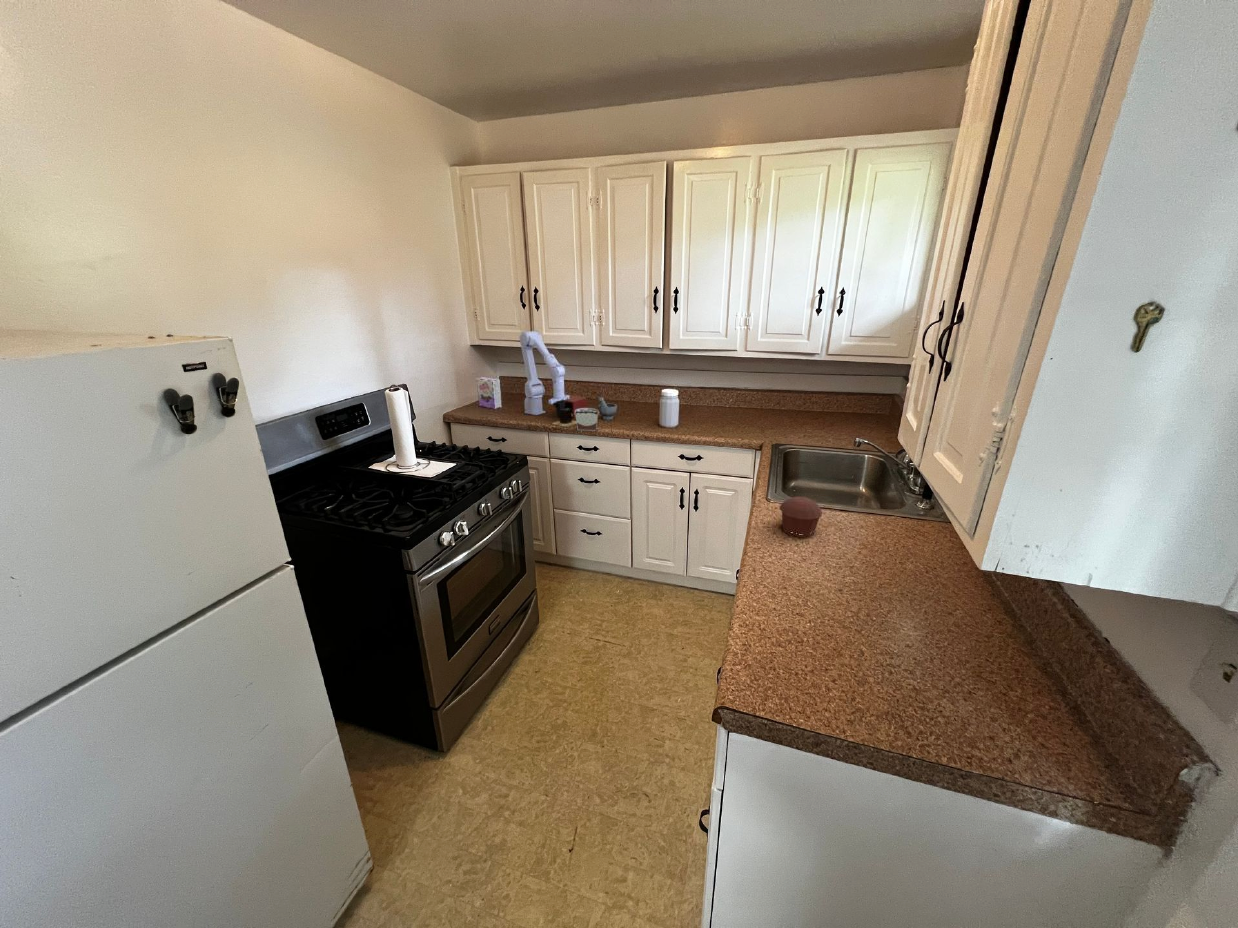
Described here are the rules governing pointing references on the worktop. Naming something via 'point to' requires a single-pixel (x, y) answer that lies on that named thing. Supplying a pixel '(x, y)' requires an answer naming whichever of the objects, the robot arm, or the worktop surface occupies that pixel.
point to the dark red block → (575, 403)
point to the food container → (586, 418)
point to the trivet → (564, 424)
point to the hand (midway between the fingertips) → (559, 414)
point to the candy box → (489, 392)
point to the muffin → (800, 516)
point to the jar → (669, 408)
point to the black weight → (565, 415)
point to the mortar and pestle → (607, 409)
